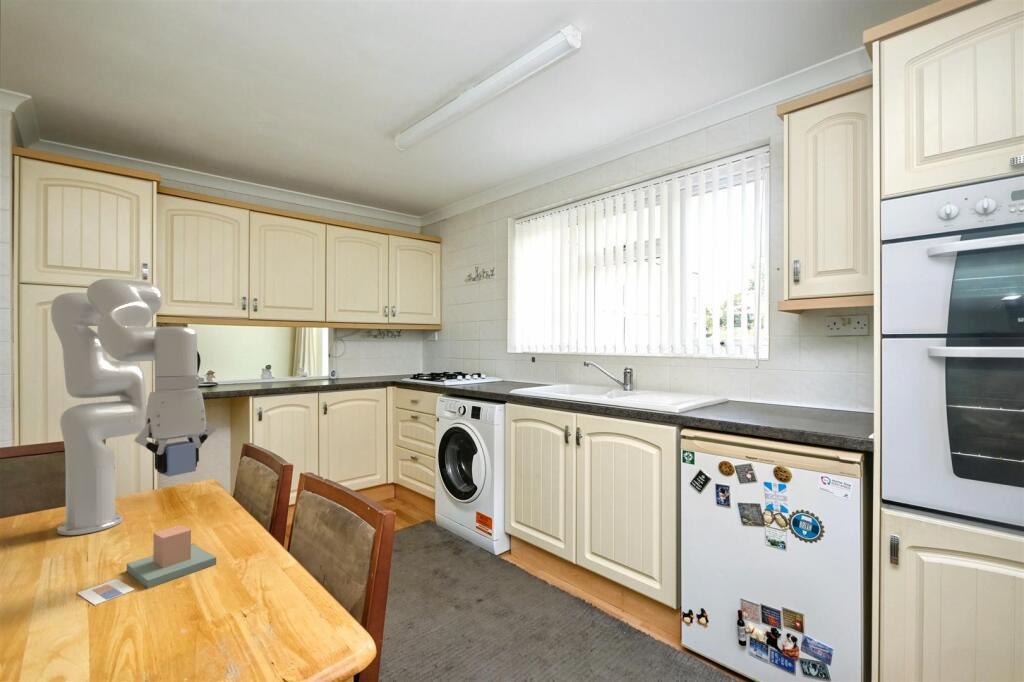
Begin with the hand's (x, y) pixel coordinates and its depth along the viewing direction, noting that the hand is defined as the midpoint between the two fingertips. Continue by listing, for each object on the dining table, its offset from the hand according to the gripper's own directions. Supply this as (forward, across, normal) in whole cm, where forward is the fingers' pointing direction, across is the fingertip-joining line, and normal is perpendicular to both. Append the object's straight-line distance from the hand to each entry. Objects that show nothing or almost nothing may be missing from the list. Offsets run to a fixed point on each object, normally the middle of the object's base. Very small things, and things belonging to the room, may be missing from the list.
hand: (177, 468), depth 101 cm
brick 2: (+19, +2, +2) cm, 19 cm away
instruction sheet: (+20, +13, +2) cm, 24 cm away
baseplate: (+20, +2, +2) cm, 20 cm away
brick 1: (+1, 0, 0) cm, 1 cm away
